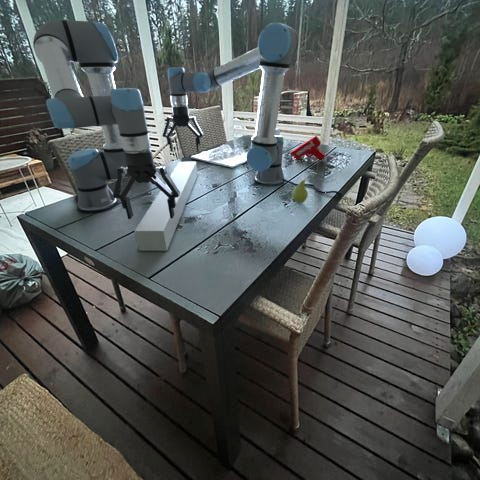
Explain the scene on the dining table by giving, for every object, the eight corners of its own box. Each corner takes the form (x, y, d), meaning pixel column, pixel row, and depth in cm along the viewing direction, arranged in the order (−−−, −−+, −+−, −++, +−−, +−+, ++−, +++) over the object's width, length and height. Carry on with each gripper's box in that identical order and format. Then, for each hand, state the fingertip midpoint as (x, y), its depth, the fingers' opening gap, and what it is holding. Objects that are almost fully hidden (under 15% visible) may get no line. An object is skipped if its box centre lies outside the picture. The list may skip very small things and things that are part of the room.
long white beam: (181, 175, 153) (179, 161, 149) (197, 175, 153) (196, 161, 148) (139, 250, 90) (134, 231, 86) (166, 250, 90) (163, 230, 86)
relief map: (232, 167, 162) (232, 159, 160) (191, 158, 180) (190, 150, 177) (257, 157, 181) (258, 149, 178) (218, 149, 198) (217, 142, 196)
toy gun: (328, 155, 171) (316, 134, 167) (328, 157, 168) (316, 136, 164) (303, 170, 181) (291, 151, 177) (303, 172, 178) (290, 152, 174)
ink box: (274, 143, 212) (275, 127, 205) (279, 145, 208) (280, 128, 202) (267, 145, 206) (268, 129, 200) (272, 147, 203) (273, 130, 197)
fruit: (288, 200, 123) (290, 174, 116) (302, 197, 125) (305, 172, 119) (296, 206, 118) (299, 179, 111) (310, 203, 120) (314, 177, 114)
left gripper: (87, 154, 74) (108, 222, 85) (178, 153, 74) (187, 221, 85) (100, 147, 80) (118, 212, 92) (183, 146, 80) (191, 211, 91)
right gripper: (151, 106, 126) (159, 152, 138) (204, 106, 126) (208, 152, 138) (155, 104, 133) (162, 149, 144) (206, 104, 132) (209, 148, 144)
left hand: (151, 217), depth 88 cm, fingers open, 13 cm apart
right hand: (184, 151), depth 141 cm, fingers open, 13 cm apart
